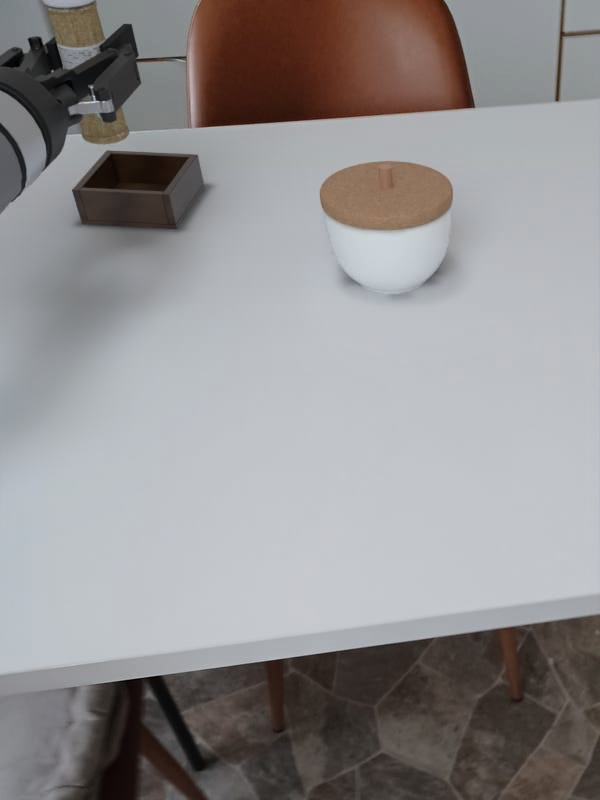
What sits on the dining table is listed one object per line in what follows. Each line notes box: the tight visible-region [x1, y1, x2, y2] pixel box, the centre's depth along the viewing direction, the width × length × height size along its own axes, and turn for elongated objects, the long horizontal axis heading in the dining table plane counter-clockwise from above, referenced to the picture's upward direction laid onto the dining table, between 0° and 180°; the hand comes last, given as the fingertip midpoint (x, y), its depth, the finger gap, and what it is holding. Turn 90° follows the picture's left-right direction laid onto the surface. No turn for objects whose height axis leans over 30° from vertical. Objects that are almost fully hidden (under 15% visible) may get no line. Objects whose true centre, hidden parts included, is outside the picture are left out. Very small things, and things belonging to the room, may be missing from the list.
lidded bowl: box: [319, 160, 454, 295], centre depth 93 cm, size 13×13×11 cm
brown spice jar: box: [41, 0, 130, 146], centre depth 89 cm, size 5×5×14 cm
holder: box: [71, 149, 205, 230], centre depth 106 cm, size 11×11×4 cm
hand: (106, 39), depth 92 cm, fingers closed on brown spice jar, 4 cm apart
